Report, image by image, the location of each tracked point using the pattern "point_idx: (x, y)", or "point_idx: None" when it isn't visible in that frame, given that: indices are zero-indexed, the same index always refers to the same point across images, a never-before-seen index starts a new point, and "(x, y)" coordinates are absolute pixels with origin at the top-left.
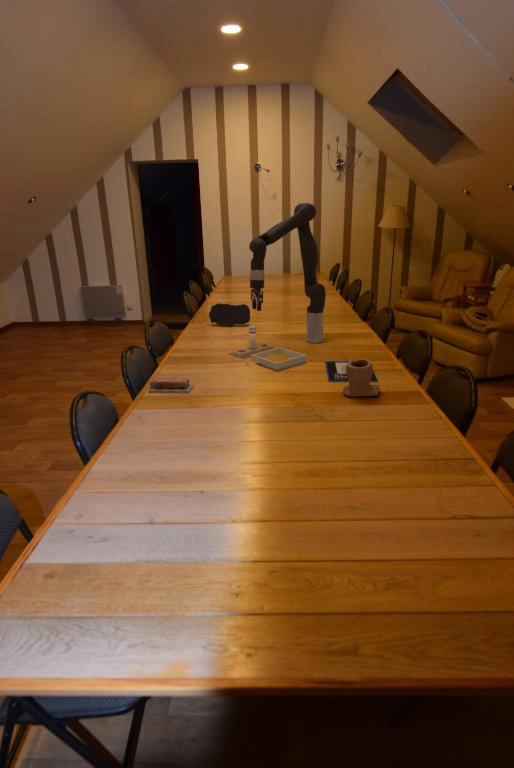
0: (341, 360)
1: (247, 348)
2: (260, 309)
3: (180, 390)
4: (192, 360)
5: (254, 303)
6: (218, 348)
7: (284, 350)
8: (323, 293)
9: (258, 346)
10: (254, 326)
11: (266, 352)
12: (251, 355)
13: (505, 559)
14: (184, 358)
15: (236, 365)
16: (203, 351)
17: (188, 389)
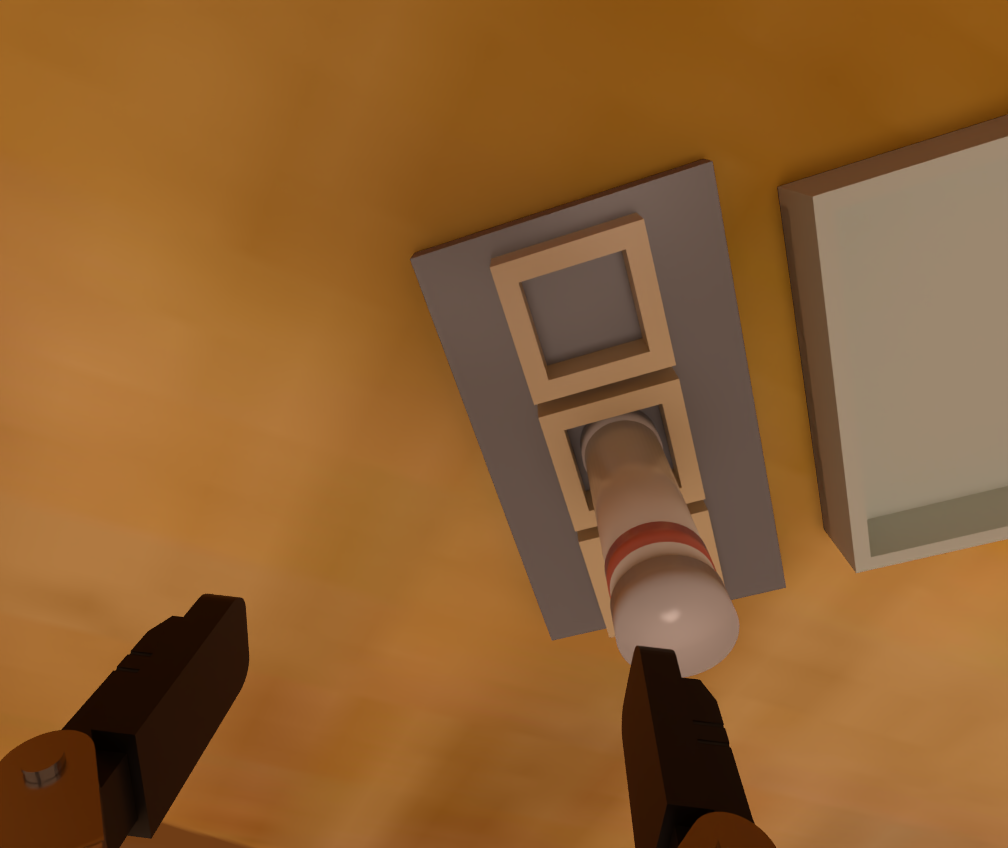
0: None
1: (585, 500)
2: (707, 702)
3: None
4: (520, 813)
5: (166, 752)
6: (273, 607)
7: (925, 178)
8: None
9: (588, 384)
10: (728, 621)
11: (848, 399)
12: (867, 568)
13: None
14: (449, 836)
15: (815, 637)
16: (322, 714)
17: None
